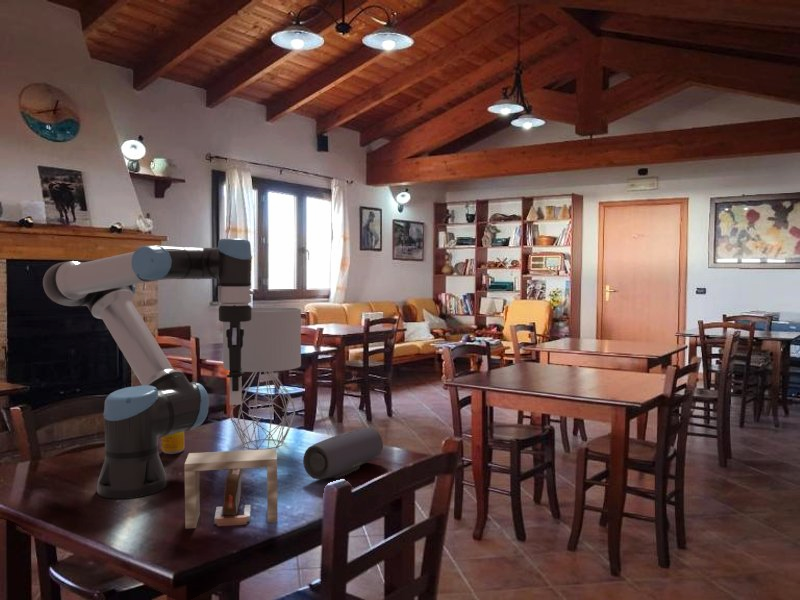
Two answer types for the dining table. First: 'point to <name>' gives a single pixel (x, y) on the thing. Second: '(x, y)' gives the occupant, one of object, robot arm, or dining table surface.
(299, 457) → the dining table surface
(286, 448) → the dining table surface
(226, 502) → the tin
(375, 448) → the bluetooth speaker
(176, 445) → the beer can
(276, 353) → the table lamp
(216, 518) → the grey and orange bracket
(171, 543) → the dining table surface
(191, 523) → the overhang
